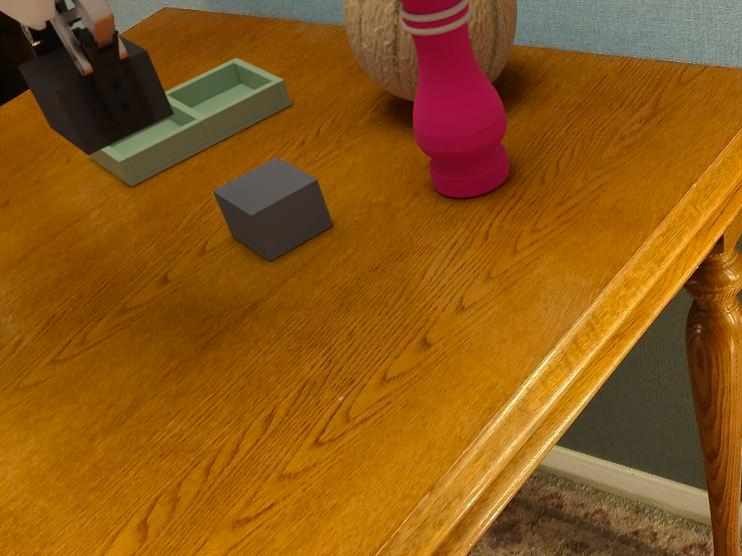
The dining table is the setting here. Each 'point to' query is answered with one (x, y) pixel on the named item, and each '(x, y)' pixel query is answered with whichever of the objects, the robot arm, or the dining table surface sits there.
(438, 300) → the dining table surface
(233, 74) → the holder
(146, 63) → the dark grey block
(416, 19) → the pepper mill
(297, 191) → the grey square block
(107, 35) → the robot arm
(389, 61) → the cantaloupe
